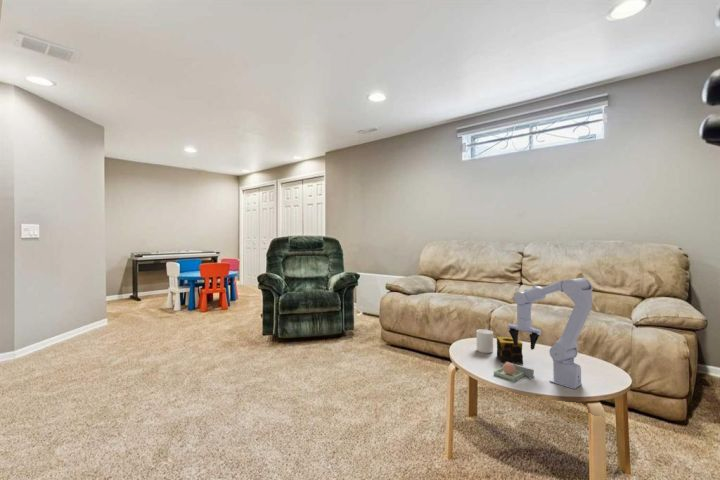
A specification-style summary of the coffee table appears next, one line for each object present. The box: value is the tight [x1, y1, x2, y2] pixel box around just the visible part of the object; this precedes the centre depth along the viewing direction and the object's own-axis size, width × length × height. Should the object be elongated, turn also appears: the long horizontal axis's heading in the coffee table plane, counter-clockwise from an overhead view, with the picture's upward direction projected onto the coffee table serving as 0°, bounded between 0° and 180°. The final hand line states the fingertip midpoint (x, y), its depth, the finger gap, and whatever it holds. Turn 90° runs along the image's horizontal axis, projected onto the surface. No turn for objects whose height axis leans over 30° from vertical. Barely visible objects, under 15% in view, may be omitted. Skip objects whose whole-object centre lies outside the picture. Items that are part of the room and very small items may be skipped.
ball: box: [502, 363, 515, 375], centre depth 147 cm, size 5×5×5 cm
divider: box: [506, 362, 535, 380], centre depth 149 cm, size 12×2×4 cm, turn 39°
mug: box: [476, 328, 494, 354], centre depth 181 cm, size 12×8×10 cm
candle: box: [496, 336, 524, 365], centre depth 166 cm, size 10×10×10 cm
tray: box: [493, 366, 525, 382], centre depth 147 cm, size 9×9×2 cm
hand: (524, 347), depth 156 cm, fingers open, 7 cm apart
